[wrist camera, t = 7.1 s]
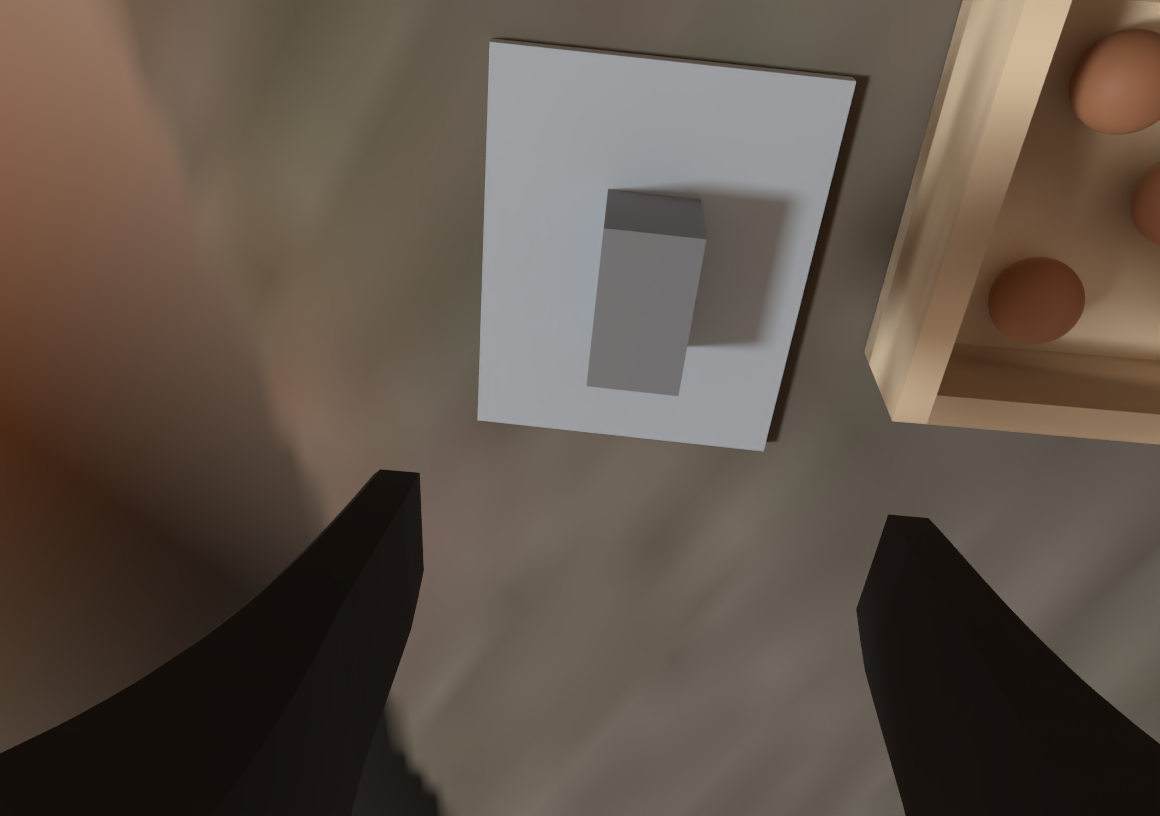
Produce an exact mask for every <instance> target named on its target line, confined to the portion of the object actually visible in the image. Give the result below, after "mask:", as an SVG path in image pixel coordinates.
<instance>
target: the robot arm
mask: <svg viewBox="0 0 1160 816" xmlns="http://www.w3.org/2000/svg"><path fill="white" fill-rule="evenodd" d="M423 571H424V566H423V542H422V519H421V495H420V473H415V472H403V471H392V470H381V469H380V470H379V471H378V472H376V473H375V474H374V475H373V476H372V477H371V478H370V479H369V481H368V482H367V483H366V484H365V485H364V486H363V488H362V489H361V490H360V491H359V492H358V493H357V494H356V496H355V497H354V498H353V499H352V500H351V501H350V502H349V503H348V505H347V506H346V507H345V508H344V509H343V510H342V511H341V512H340V513H339V514H338V516H337V517H336V518H335V519H334V520H333V521H332V522H331V523H330V524H329V525H328V526H327V527H326V528H325V529H324V530H323V531H322V532H321V533H320V535H319V536H318V537H317V538H316V539H315V540H314V541H313V542H312V543H311V544H310V545H309V546H308V547H307V548H306V549H305V550H304V551H303V552H302V553H301V554H300V555H299V556H298V557H297V558H296V559H295V560H294V561H293V562H292V563H291V564H289V565H288V566H287V567H286V568H285V569H284V570H283V571H282V572H281V573H280V574H279V575H278V576H276V577H275V578H274V579H273V580H272V581H271V582H270V583H269V584H268V585H266V586H265V587H264V588H263V589H262V590H261V591H260V592H259V593H258V594H257V595H255V596H254V597H253V598H252V599H251V600H249V601H248V602H247V603H246V604H245V605H244V606H242V607H241V608H240V609H239V610H238V611H236V612H235V613H234V614H232V615H231V616H230V617H229V618H228V619H226V620H225V621H224V622H222V623H221V624H220V625H218V626H217V627H216V628H215V629H213V630H212V631H211V632H209V633H208V634H207V635H205V636H204V637H203V638H201V639H200V640H198V641H197V642H196V643H194V644H193V645H191V646H190V647H188V648H187V649H186V650H184V651H183V652H181V653H180V654H178V655H177V656H176V657H174V658H173V659H171V660H170V661H168V662H167V663H165V664H164V665H162V666H161V667H159V668H158V669H156V670H154V671H153V672H151V673H150V674H148V675H147V676H145V677H144V678H142V679H141V680H139V681H137V682H136V683H134V684H132V685H131V686H129V687H127V688H125V689H124V690H122V691H120V692H119V693H117V694H115V695H114V696H112V697H110V698H109V699H107V700H105V701H103V702H101V703H99V704H97V705H96V706H94V707H92V708H90V709H88V710H87V711H85V712H83V713H81V714H79V715H77V716H76V717H74V718H72V719H70V720H68V721H66V722H64V723H62V724H60V725H58V726H57V727H54V728H52V729H50V730H48V731H46V732H44V733H42V734H40V735H38V736H35V737H33V738H31V739H29V740H27V741H25V742H23V743H21V744H19V745H17V746H15V747H13V748H11V749H8V750H7V751H4V752H2V753H0V816H351V813H352V809H353V805H354V801H355V797H356V793H357V788H358V784H359V781H360V778H361V774H362V771H363V768H364V764H365V761H366V757H367V754H368V752H369V749H370V746H371V743H372V740H373V737H374V735H375V732H376V729H377V726H378V723H379V720H380V717H381V715H382V712H383V709H384V706H385V703H386V700H387V697H388V694H389V692H390V689H391V686H392V683H393V680H394V677H395V674H396V672H397V669H398V666H399V663H400V660H401V657H402V654H403V651H404V648H405V645H406V642H407V639H408V636H409V634H410V631H411V627H412V622H413V618H414V614H415V609H416V605H417V600H418V595H419V590H420V586H421V581H422V576H423ZM856 610H857V618H858V625H859V633H860V641H861V648H862V654H863V660H864V667H865V672H866V676H867V679H868V683H869V687H870V691H871V694H872V698H873V701H874V705H875V709H876V712H877V716H878V719H879V723H880V726H881V730H882V733H883V737H884V740H885V744H886V747H887V751H888V754H889V758H890V761H891V765H892V768H893V772H894V775H895V779H896V782H897V786H898V789H899V793H900V796H901V800H902V803H903V807H904V811H905V815H906V816H1160V744H1159V743H1158V742H1157V741H1155V740H1154V739H1153V738H1151V737H1150V736H1149V735H1148V734H1146V733H1145V732H1144V731H1143V730H1141V729H1140V728H1139V727H1137V726H1136V725H1135V724H1134V723H1133V722H1131V721H1130V720H1129V719H1128V718H1127V717H1125V716H1124V715H1123V714H1122V713H1121V712H1119V711H1118V710H1117V709H1116V708H1115V707H1113V706H1112V705H1111V704H1110V703H1109V702H1108V701H1106V700H1105V699H1104V698H1103V697H1102V696H1100V695H1099V694H1098V693H1097V692H1096V691H1095V690H1093V689H1092V688H1091V687H1090V686H1089V685H1088V684H1087V683H1086V682H1084V681H1083V680H1082V679H1081V678H1080V677H1079V676H1078V675H1077V674H1076V673H1075V672H1073V671H1072V670H1071V669H1070V668H1069V667H1068V666H1067V665H1066V664H1065V663H1064V662H1063V661H1062V660H1061V659H1060V658H1059V657H1058V656H1057V655H1056V654H1055V653H1054V652H1053V651H1052V650H1051V649H1049V648H1048V647H1047V646H1046V645H1045V644H1044V643H1043V642H1042V641H1041V640H1040V639H1039V638H1038V637H1037V636H1036V635H1035V634H1034V633H1033V632H1032V631H1031V630H1030V629H1029V628H1028V627H1027V626H1026V625H1025V624H1024V622H1023V621H1022V620H1021V619H1020V618H1019V617H1018V616H1017V615H1016V614H1015V613H1014V612H1013V611H1012V610H1011V609H1010V608H1009V607H1008V606H1007V605H1006V603H1005V602H1004V601H1003V600H1002V599H1001V598H1000V597H999V596H998V595H997V594H996V593H995V592H994V591H993V589H992V588H991V587H990V586H989V585H988V584H987V583H986V582H985V581H984V579H983V578H982V577H981V576H980V575H979V574H978V573H977V572H976V571H975V569H974V568H973V567H972V566H971V565H970V564H969V563H968V562H967V560H966V559H965V558H964V557H963V556H962V555H961V554H960V553H959V551H958V550H957V549H956V548H955V547H954V546H953V545H952V543H951V542H950V541H949V540H948V539H947V538H946V537H945V536H944V534H943V533H942V532H941V531H940V530H939V529H938V528H937V527H936V526H935V525H934V524H933V523H932V521H931V520H930V519H929V518H921V517H909V516H898V515H888V517H887V520H886V523H885V526H884V529H883V532H882V535H881V538H880V541H879V544H878V547H877V550H876V553H875V556H874V559H873V562H872V565H871V568H870V571H869V574H868V576H867V579H866V582H865V585H864V588H863V591H862V594H861V597H860V600H859V603H858V606H857V609H856Z"/></svg>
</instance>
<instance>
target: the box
mask: <svg viewBox="0 0 1160 816" xmlns="http://www.w3.org/2000/svg"><path fill="white" fill-rule="evenodd" d="M864 353H865V355H866V357H867V360H868V362H869V365H870V367H871V370H872V372H873V375H874V377H875V380H876V382H877V385H878V387H879V390H880V392H881V394H882V397H883V399H884V402H885V404H886V407H887V409H888V412H889V414H890V417H891V419H892V421H897V422H908V423H920V424H931V425H943V426H954V427H966V428H977V429H989V430H1000V431H1012V432H1023V433H1035V434H1046V435H1058V436H1069V437H1081V438H1092V439H1104V440H1115V441H1127V442H1138V443H1150V444H1160V0H963V1H962V5H961V9H960V12H959V16H958V19H957V23H956V26H955V30H954V34H953V37H952V41H951V44H950V48H949V51H948V55H947V58H946V62H945V66H944V69H943V73H942V76H941V80H940V83H939V87H938V91H937V94H936V98H935V101H934V105H933V108H932V112H931V116H930V119H929V123H928V126H927V130H926V133H925V137H924V140H923V144H922V148H921V151H920V155H919V158H918V162H917V165H916V169H915V173H914V176H913V180H912V183H911V187H910V190H909V194H908V198H907V201H906V205H905V208H904V212H903V215H902V219H901V222H900V226H899V230H898V233H897V237H896V240H895V244H894V247H893V251H892V255H891V258H890V262H889V265H888V269H887V272H886V276H885V280H884V283H883V287H882V290H881V294H880V297H879V301H878V305H877V308H876V312H875V315H874V319H873V322H872V326H871V329H870V333H869V337H868V340H867V344H866V347H865V351H864Z"/></svg>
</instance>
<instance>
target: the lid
mask: <svg viewBox="0 0 1160 816" xmlns="http://www.w3.org/2000/svg"><path fill="white" fill-rule="evenodd" d="M855 85H856V80H855V79H854V78H853V77H849V76H839V75H830V74H820V73H811V72H802V71H792V70H783V69H774V68H764V67H755V66H746V65H736V64H727V63H718V62H708V61H699V60H689V59H680V58H671V57H661V56H652V55H643V54H633V53H624V52H615V51H605V50H596V49H586V48H577V47H568V46H558V45H549V44H540V43H530V42H521V41H512V40H502V39H493V38H492V39H491V41H490V50H489V82H488V113H487V144H486V175H485V207H484V238H483V269H482V300H481V331H480V363H479V394H478V420H481V421H490V422H499V423H509V424H518V425H527V426H536V427H545V428H554V429H564V430H573V431H582V432H591V433H600V434H609V435H619V436H628V437H637V438H646V439H655V440H664V441H674V442H683V443H692V444H701V445H710V446H719V447H729V448H738V449H747V450H756V451H764V448H765V444H766V440H767V436H768V432H769V428H770V424H771V420H772V416H773V412H774V408H775V404H776V400H777V396H778V392H779V388H780V384H781V380H782V376H783V372H784V368H785V364H786V360H787V356H788V352H789V348H790V344H791V340H792V336H793V332H794V328H795V324H796V320H797V316H798V312H799V308H800V304H801V300H802V296H803V292H804V288H805V284H806V280H807V276H808V272H809V268H810V264H811V260H812V256H813V252H814V248H815V244H816V240H817V236H818V232H819V228H820V224H821V220H822V216H823V212H824V209H825V205H826V201H827V197H828V193H829V189H830V185H831V181H832V177H833V173H834V169H835V165H836V161H837V157H838V153H839V149H840V145H841V141H842V137H843V133H844V129H845V125H846V121H847V117H848V113H849V109H850V105H851V101H852V97H853V93H854V89H855Z"/></svg>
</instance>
